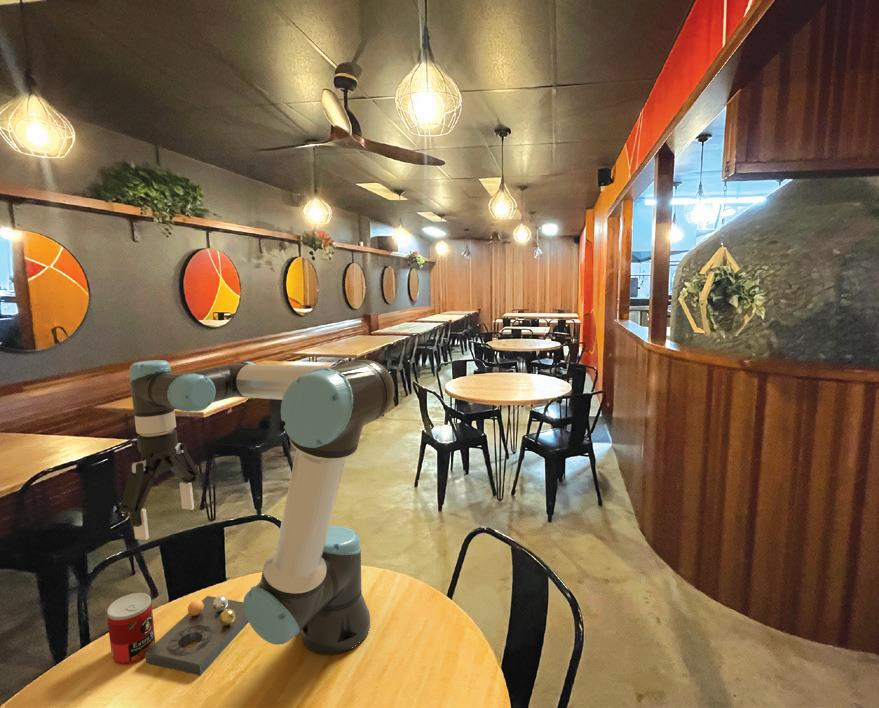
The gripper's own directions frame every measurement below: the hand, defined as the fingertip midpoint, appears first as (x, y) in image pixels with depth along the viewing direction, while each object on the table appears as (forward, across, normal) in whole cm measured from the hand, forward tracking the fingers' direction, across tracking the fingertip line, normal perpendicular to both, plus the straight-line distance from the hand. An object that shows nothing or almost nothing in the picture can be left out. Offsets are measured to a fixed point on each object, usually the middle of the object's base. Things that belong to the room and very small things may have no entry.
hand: (166, 522), depth 106 cm
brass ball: (+20, +2, +15) cm, 25 cm away
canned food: (+24, +10, -1) cm, 26 cm away
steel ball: (+20, -2, +11) cm, 22 cm away
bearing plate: (+24, +4, +10) cm, 26 cm away
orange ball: (+20, +1, +6) cm, 20 cm away
